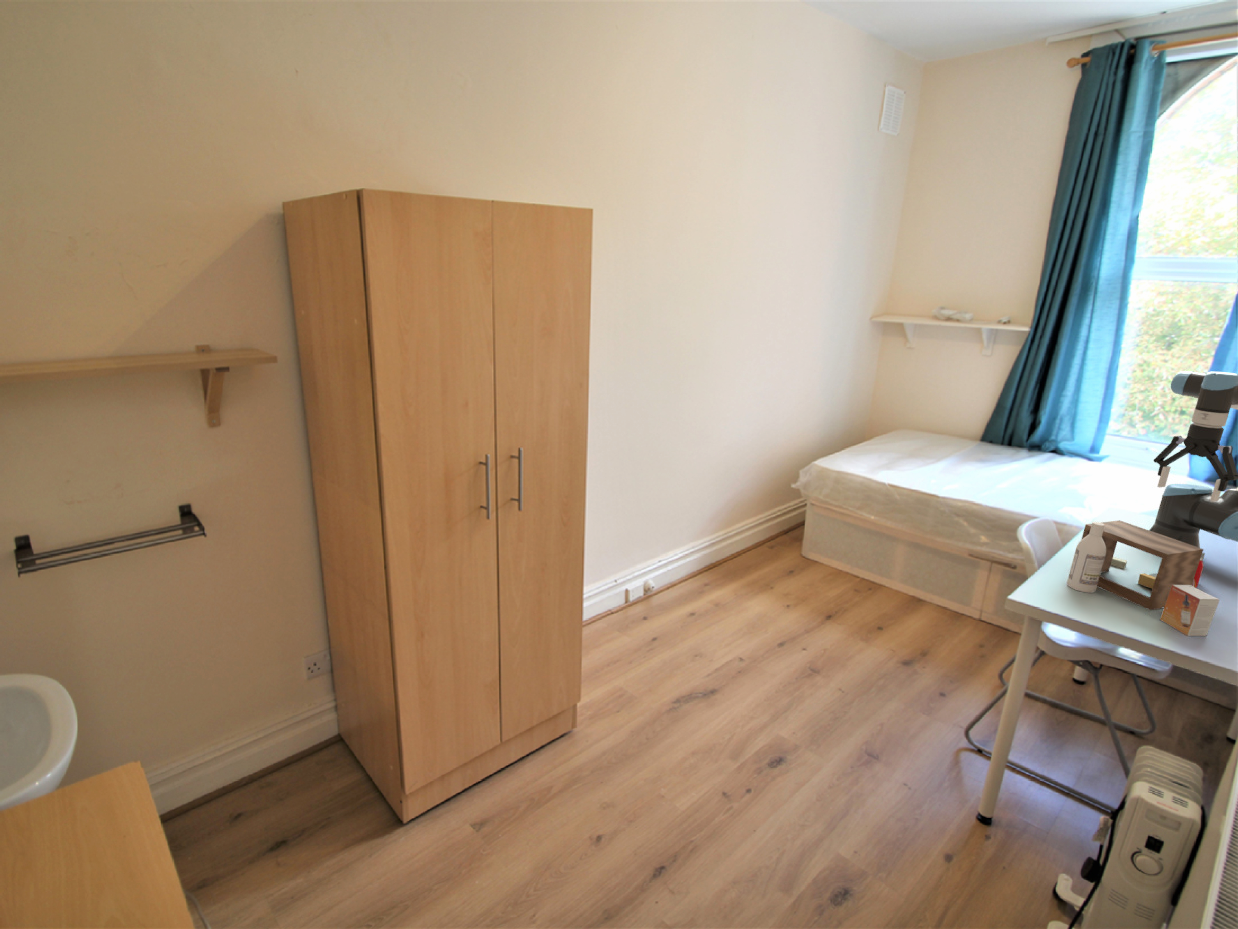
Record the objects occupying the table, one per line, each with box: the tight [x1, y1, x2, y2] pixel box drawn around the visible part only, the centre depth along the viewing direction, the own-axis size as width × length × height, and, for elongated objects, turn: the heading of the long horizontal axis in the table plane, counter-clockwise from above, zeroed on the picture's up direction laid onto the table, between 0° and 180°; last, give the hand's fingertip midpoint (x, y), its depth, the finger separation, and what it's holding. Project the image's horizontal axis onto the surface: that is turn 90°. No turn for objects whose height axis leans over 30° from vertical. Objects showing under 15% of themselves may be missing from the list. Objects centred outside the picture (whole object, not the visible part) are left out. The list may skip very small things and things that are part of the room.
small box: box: [1159, 585, 1220, 637], centre depth 165 cm, size 8×6×10 cm
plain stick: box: [1110, 556, 1128, 569], centre depth 207 cm, size 13×2×2 cm, turn 42°
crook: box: [1137, 552, 1206, 590], centre depth 190 cm, size 21×10×9 cm, turn 109°
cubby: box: [1080, 520, 1204, 611], centre depth 185 cm, size 15×22×16 cm
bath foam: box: [1066, 521, 1106, 594], centre depth 184 cm, size 7×7×20 cm
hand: (1186, 493), depth 195 cm, fingers open, 13 cm apart
